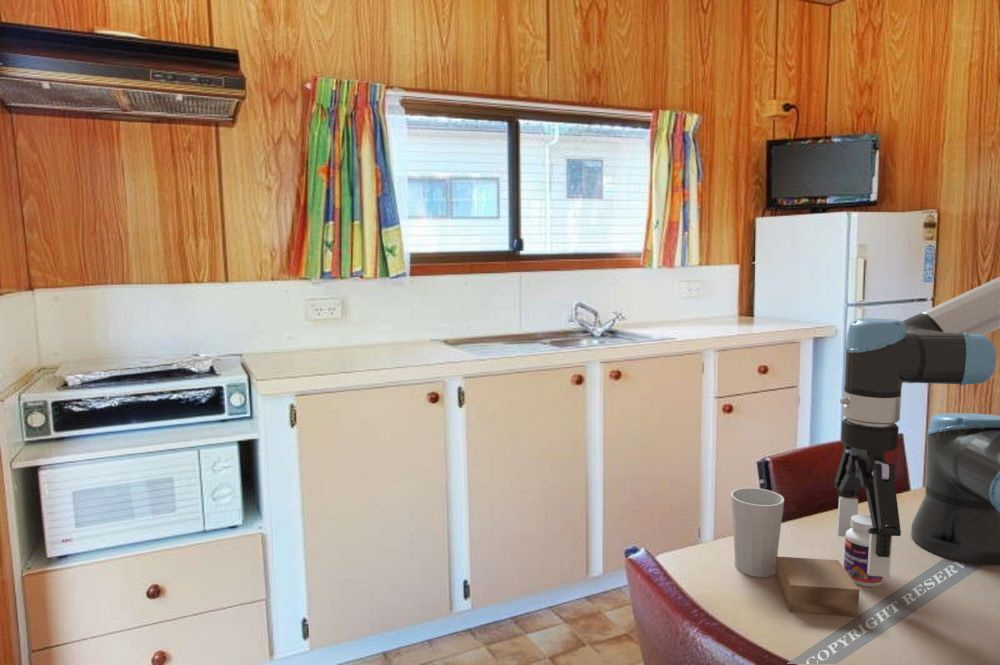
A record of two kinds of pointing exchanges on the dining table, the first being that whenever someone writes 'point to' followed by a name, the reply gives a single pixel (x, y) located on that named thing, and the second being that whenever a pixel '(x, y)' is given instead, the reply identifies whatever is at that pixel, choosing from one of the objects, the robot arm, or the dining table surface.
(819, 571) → the base
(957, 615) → the dining table surface
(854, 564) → the pill bottle
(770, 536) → the cup
